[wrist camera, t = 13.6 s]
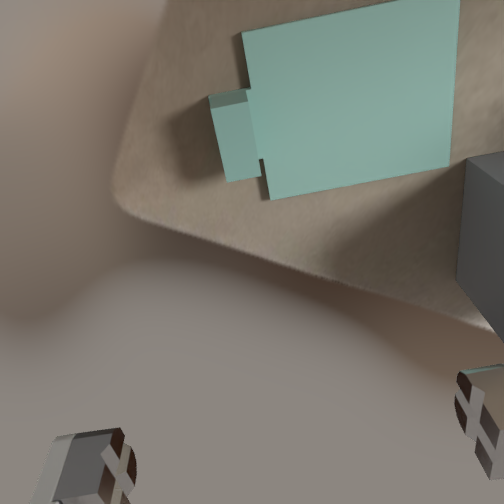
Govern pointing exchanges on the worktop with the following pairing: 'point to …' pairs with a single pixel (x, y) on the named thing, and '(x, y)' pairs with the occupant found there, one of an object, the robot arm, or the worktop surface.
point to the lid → (343, 98)
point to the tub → (483, 238)
